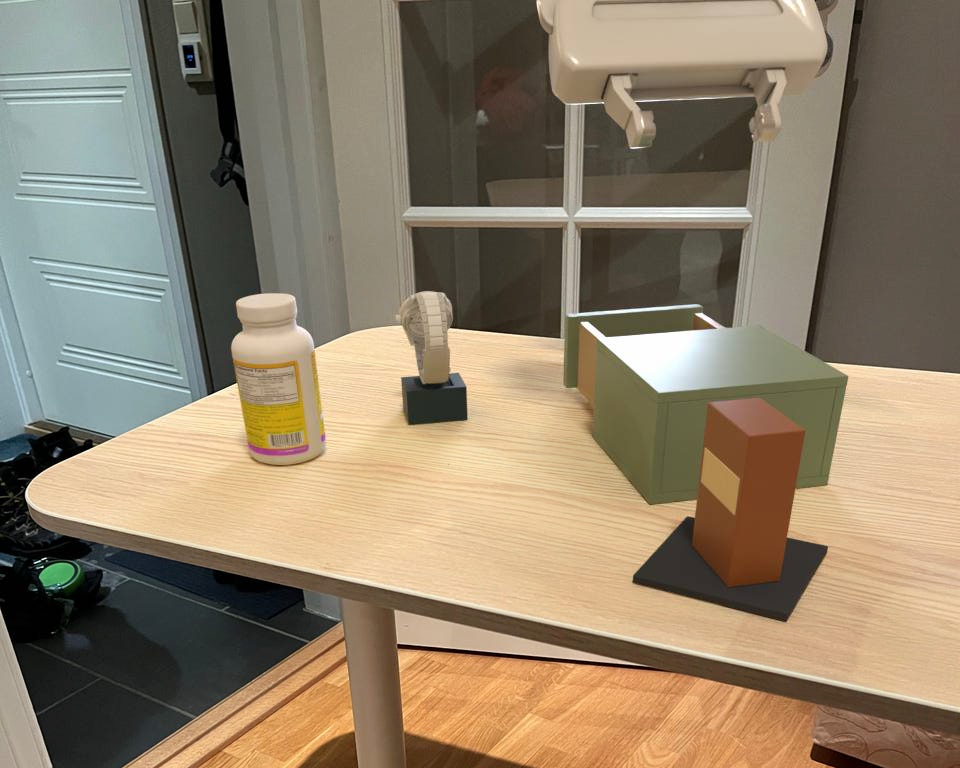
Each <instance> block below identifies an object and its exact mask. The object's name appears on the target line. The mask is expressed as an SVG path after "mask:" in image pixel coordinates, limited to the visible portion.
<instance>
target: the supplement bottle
mask: <svg viewBox="0 0 960 768" xmlns="http://www.w3.org/2000/svg"><path fill="white" fill-rule="evenodd" d="M235 306H236V307H235V308H236V313H237V318H238V319H239V321H240V323H241V324H242V330H241V331H240V332H239V333H237V334H236V335H235V337H234V338H233V339H232V341H231V345H230V346H231V347H230V350H231V357H232V363H233V367H234V373H235V378H236V384H237V389H238V396H239V402H240V408H241V413H242V419H243V424H244V430H245V433H246V434H245V436H246V440H247V445H248V450H249V451H248V452H249V453H250V455H251V457H252V458H253V459H255V460H256V461H258V462H260V463H263V464H268V465H276V466H288V465H296V464H300V463H304V462H307V461H310V460H312V459H314V458H316V457H318V456H320V455H321V454H322V453H323V452H324V450H325V449H326V446H327V438H326V437H327V436H326V429H325V422H324V414H323V405H322V398H321V390H320V382H319V375H318V367H317V358H316V351H315V344H314V343H315V342H314V339H313V337H312V335H311V333H309V331H308V330H306V329H305V328H304V327H302V326H299V325H297V320H296V319H297V315H298V306H297V301H296V297H295V296H294V295H292V294H289V293H280V292H279V293H277V292H276V293H274V292H273V293H272V292H269V293H258V294H251V295H248V296H244V297H241V298H239V299H238V300H236V302H235Z"/></svg>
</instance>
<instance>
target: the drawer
mask: <svg viewBox="0 0 960 768" xmlns="http://www.w3.org/2000/svg"><path fill="white" fill-rule="evenodd" d="M720 328H726V327H725V326H724V325H722V324H720V323H719V322H717V321H715V320H714V319H712V318H711V317H708V316H707V315H705V313H704V307H703V306H702V305H701V304H699V303H697V304H696V303H694V304H683V305H667V306H655V307H641V308H630V309H628V308H627V309H616V310H615V309H614V310H601V311H590V312H575V313H566V314H565V315H564V343H563V345H564V346H563V378H562V380H563V381H562V383H563V386H564V387H565V388H566V389H572V388H573V389H576V388H577V391H579V392H580V393H581V395H583V397H584V398H585V399H586V400H587V401H588V402H589V404H590V405H591V406H592V407H593V408H594V394H595V371H596V349H597V338H607V337H620V336H632V335H645V334H657V333H670V332H682V331H695V330H707V329H720Z"/></svg>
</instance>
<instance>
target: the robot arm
mask: <svg viewBox="0 0 960 768" xmlns="http://www.w3.org/2000/svg"><path fill="white" fill-rule="evenodd" d="M536 8H537V14H538V19H539V22H540V25H541V27H542V28H543V30H544V31H545V32H546V33H547V34H548V68H549V78H550V79H549V80H550V86H551V91H552V93H553V94H554V96H556V98H558V99H559V101H561V102H562V103H563V104H565V105H590V104H604V109H605V113H606V114H607V115H608V116H609V117H610V118H611V119H612V120H613V121H614V122H615V123H616V124H617V125H618V126H619V127H620V128H621V129H622V130H623V131H625V134H626V138H627V143H628V147H629V148H630V149H643V148H651V147H652V146H653V140H655V138H656V135H657V126H656V123H655V122H654V119H655V117H654V113H653V110H641V108H640V107H639V105H638V104H637V102H659V101H660V102H661V101H683V100H704V99H728V98H729V99H730V98H750V97H751V98H753V97H754V98H755V101H756V105H758V106H757V108H756V110H755V111H754V116H752V117H751V118H750V120H749V122H748V127H749V131H750V133H751V134H752V135H751V139H752V142H754V143H765V142H774V141H775V140H776V138H777V136H778V135H779V133H780V131H781V129H782V118H781V113H780V111H779V105H780V102H781V100H782V97H783V96H797V95H801V94H804V93H805V91H806V90H807V89H808V88H809V86H810V85H811V83H812V82H813V81H814V79H815V77H816V76H817V75H818V73H819V71H820V69H821V67H822V65H823V64H824V61H825V59H826V56H827V53H828V40H827V36H826V31H825V28H824V25H823V24H824V23H823V20H822V17H821V14H820V12H819V9H818V6H817V3H816V1H815V0H536Z"/></svg>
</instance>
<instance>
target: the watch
mask: <svg viewBox="0 0 960 768" xmlns="http://www.w3.org/2000/svg"><path fill="white" fill-rule="evenodd" d="M453 321H454V315H453V305H452V303H451V301H450V299H449V298H448V297H447V295H446V293H444V292H441V291H440V292H439V291H438V292H436V291H431V290H424V291H420V292H417V293H414V294H411V295H410V296H409V297H407V298H406V299H405V300H404V301H403V303H402V304H401V306H400V308H399V313H398V314H396V315H395V323H396V324H397V325H400V324H401V326H402V329H403V331H404V334H406V337H407V339H408V342H409V344H410V347H413V346H414V353H415V354H414V355H415V360H416V366H417V371H418V375H413V376H412V375H411V376H401V377H400V382H401V383H400V384H401V396H402V409H403V412H404V416H405V418H406V421H407V424H408V425H409V426H412V425H424V424H435V423H444V422H445V423H446V422H456V421H458V422H459V421H468V390H467V385H466V383H465V382H464V379H463V378H462V376H461V373H460V372H452V373H451V369H452V368H451V367H450V366H451V365H450V362H451V349H450V347H449V336H448V335H449V334H448V331H449V330H450V328H451V327H452V325H453V324H452V323H453Z"/></svg>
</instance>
